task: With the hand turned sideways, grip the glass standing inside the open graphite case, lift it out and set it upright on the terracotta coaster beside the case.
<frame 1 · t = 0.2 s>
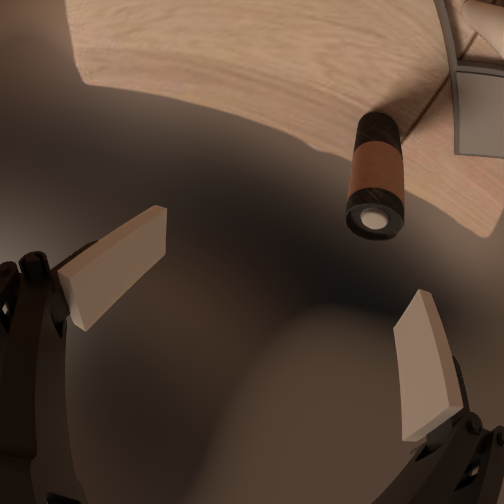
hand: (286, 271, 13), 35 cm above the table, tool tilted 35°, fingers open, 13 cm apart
drinking glass: (476, 15, 13), resting in open case
open case: (477, 15, 12), on the table
travel mug: (378, 128, 38), on the table
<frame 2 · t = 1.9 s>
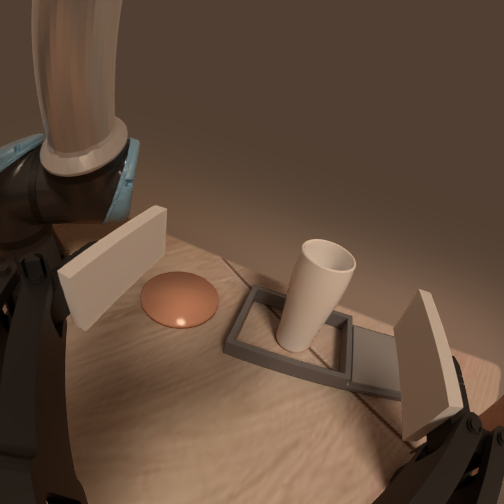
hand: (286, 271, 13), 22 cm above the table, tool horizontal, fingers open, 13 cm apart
drinking glass: (292, 340, 38), resting in open case
coaster: (179, 298, 40), on the table
open case: (292, 339, 38), on the table
travel mug: (409, 486, 18), on the table
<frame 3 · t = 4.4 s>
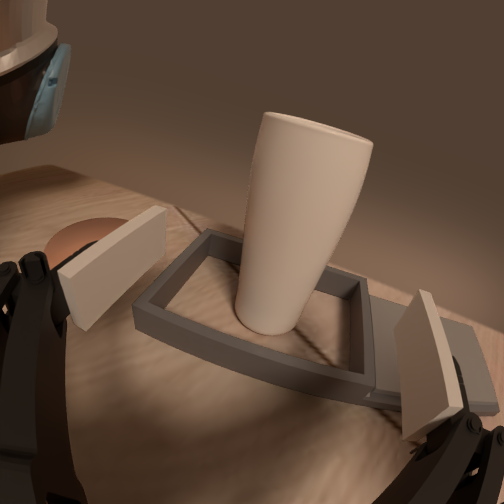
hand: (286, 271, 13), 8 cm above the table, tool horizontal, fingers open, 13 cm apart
drinking glass: (265, 316, 22), resting in open case
coaster: (96, 249, 24), on the table
open case: (265, 314, 22), on the table
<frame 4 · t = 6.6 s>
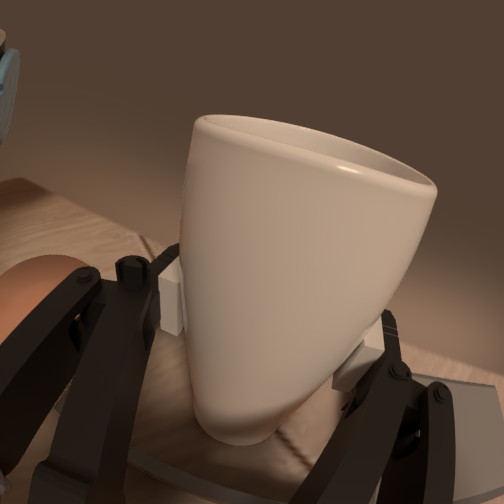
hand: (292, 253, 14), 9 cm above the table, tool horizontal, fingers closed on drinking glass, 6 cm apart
drinking glass: (236, 411, 14), resting in open case, touching gripper
coaster: (38, 300, 17), on the table
open case: (237, 409, 14), on the table
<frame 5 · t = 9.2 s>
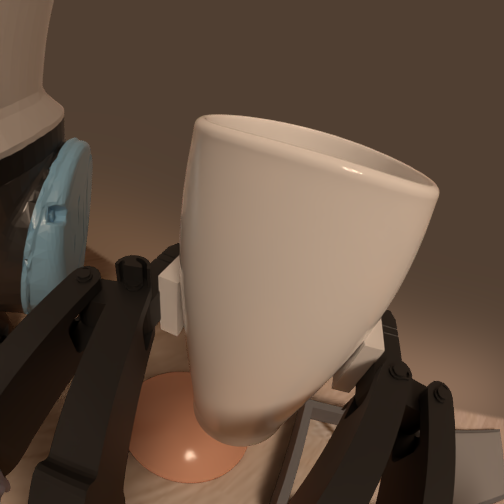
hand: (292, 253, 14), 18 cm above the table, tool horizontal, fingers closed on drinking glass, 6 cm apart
drinking glass: (237, 411, 14), point 9 cm above the table, touching gripper
coaster: (184, 425, 21), on the table
open case: (361, 474, 18), on the table
when the fingers open (10 cm above the table, at t = 11.9 s): drinking glass drops 1 cm, resting on coaster.
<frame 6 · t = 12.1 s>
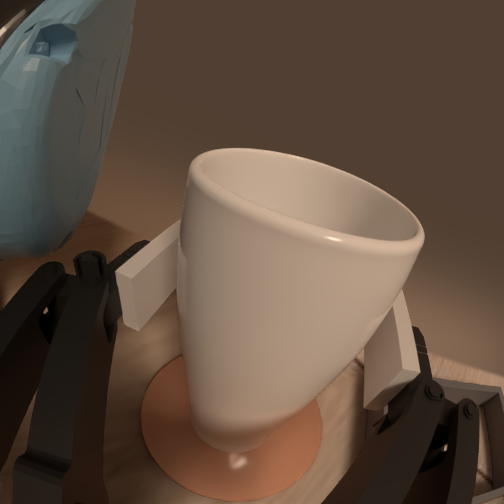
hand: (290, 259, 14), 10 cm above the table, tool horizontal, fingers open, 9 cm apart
drinking glass: (230, 419, 15), resting on coaster
coaster: (233, 419, 15), on the table
open case: (443, 452, 13), on the table
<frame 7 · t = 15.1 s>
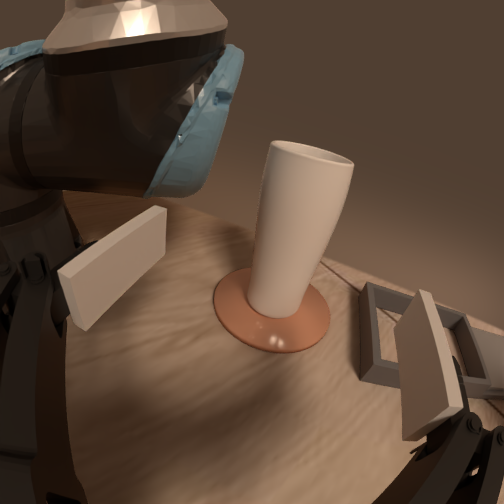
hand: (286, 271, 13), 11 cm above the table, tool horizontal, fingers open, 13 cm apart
drinking glass: (272, 304, 27), resting on coaster
coaster: (272, 306, 27), on the table
open case: (421, 348, 25), on the table
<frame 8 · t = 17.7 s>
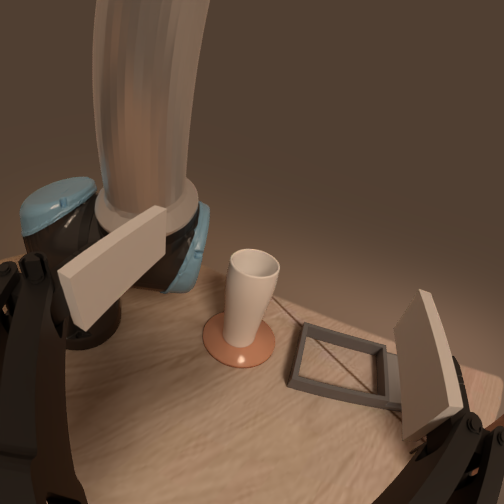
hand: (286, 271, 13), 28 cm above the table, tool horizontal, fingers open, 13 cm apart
drinking glass: (238, 337, 43), resting on coaster
coaster: (239, 338, 44), on the table
open case: (339, 369, 41), on the table
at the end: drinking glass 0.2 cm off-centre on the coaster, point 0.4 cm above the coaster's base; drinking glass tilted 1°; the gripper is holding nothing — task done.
